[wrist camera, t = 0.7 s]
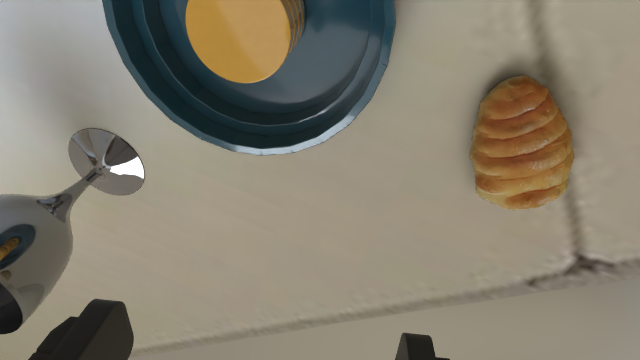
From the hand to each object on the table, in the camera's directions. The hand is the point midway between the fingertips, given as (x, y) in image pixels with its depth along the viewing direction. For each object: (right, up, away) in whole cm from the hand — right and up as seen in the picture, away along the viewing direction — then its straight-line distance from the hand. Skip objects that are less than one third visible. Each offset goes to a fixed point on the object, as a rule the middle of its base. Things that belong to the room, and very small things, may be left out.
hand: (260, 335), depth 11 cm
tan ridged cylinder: (-2, +16, +14) cm, 21 cm away
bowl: (-2, +16, +15) cm, 22 cm away
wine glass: (-18, +6, +24) cm, 31 cm away
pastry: (+16, +7, +18) cm, 25 cm away
